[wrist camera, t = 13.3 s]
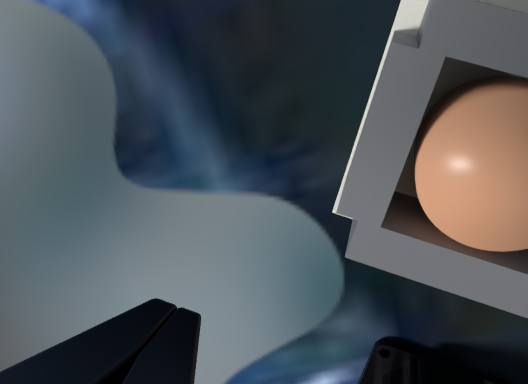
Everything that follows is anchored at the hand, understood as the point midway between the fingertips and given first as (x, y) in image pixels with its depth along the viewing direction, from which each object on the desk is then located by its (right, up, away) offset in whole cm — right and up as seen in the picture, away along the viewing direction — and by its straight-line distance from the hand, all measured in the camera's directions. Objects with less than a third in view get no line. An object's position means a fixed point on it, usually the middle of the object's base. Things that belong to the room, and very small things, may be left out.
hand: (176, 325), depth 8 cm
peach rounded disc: (+9, +4, +8) cm, 13 cm away
